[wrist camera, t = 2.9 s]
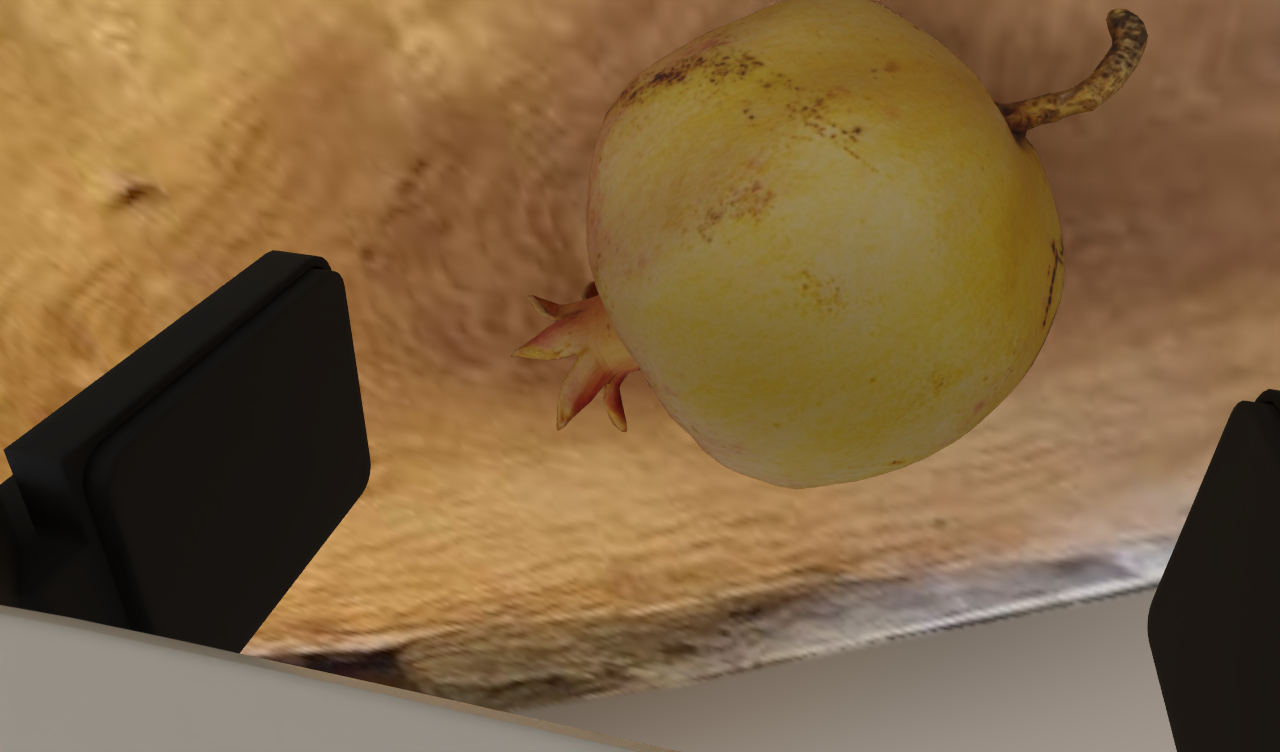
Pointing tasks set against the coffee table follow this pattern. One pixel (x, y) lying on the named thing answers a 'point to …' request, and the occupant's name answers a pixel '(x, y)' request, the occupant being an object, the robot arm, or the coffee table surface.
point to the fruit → (819, 242)
